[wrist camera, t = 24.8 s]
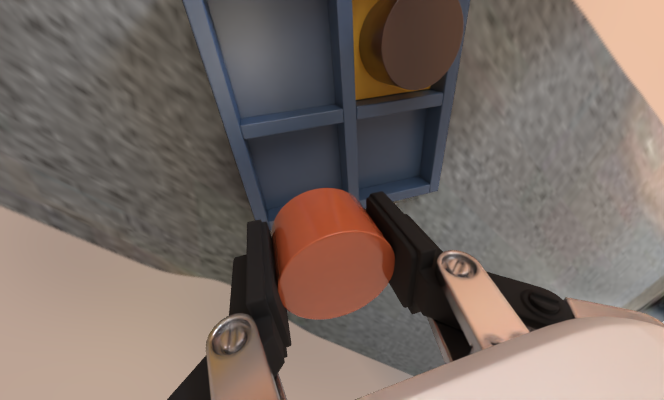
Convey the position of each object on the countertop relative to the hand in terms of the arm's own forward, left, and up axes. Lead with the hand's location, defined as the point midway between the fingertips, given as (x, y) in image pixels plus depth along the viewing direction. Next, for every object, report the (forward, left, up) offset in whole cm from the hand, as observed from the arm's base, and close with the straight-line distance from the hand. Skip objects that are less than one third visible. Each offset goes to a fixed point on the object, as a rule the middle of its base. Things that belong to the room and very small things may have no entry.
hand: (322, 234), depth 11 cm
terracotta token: (0, 0, 0) cm, 0 cm away
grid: (-3, -3, -8) cm, 9 cm away
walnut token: (-7, -7, -7) cm, 12 cm away
